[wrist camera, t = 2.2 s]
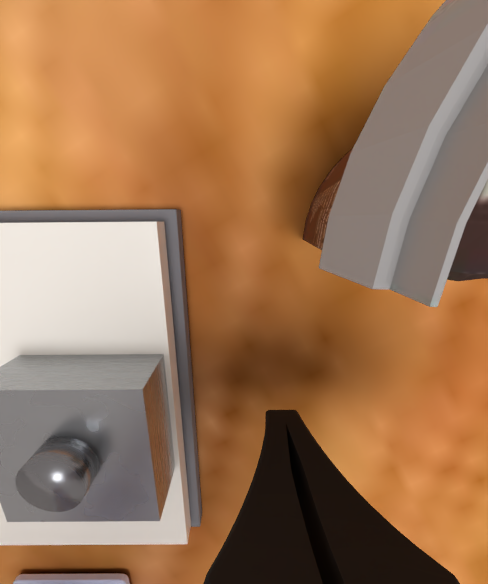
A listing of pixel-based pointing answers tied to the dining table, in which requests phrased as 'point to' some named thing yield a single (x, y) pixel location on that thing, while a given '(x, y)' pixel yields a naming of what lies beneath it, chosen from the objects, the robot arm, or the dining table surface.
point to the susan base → (178, 312)
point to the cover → (85, 438)
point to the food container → (416, 170)
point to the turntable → (93, 339)
